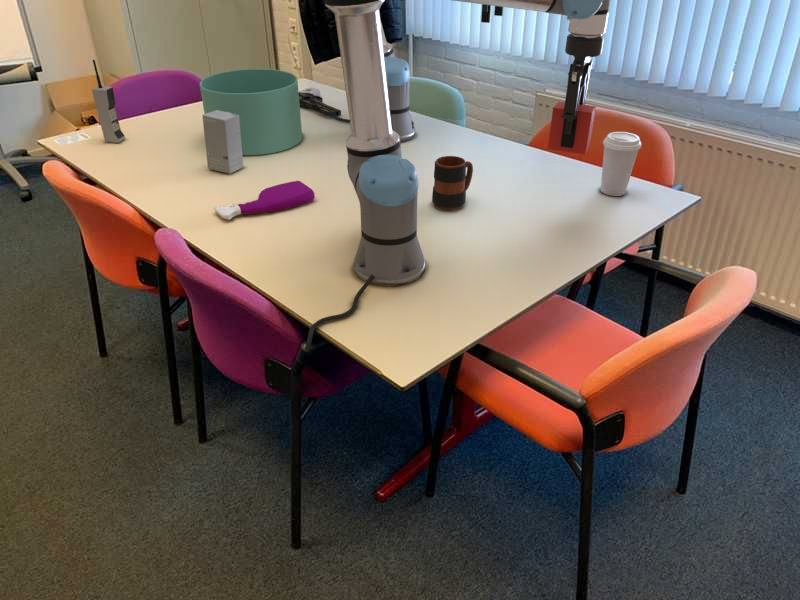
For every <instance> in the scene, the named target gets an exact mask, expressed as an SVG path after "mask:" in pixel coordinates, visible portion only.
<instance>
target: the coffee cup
mask: <svg viewBox="0 0 800 600" xmlns="http://www.w3.org/2000/svg"><path fill="white" fill-rule="evenodd" d="M602 145H603V158H602V169H601V178H600V192H601V193H602V194H604V195H606V196H611V197H620V196H624V195H625V194H626V192H627V189H628V186H629V183H630V179H631V175H632V172H633V169H634V165H635V163H636V159H637V157H638V152H639V150H641V148H642V141H641V140H640V136H639V135H637V134H635V133H631V132H627V131H611V132H609V133H608V134H607V135H606V137H605V138H604V139H603V141H602Z"/></svg>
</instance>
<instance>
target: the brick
mask: <svg viewBox="0 0 800 600" xmlns="http://www.w3.org/2000/svg"><path fill="white" fill-rule="evenodd" d="M564 106H565V101H564V102H563V101H557V102H556V104H554V106H553V107H552V111H551V112H552V113H551V120H550V127H549V134H548V135H549V136H548V142H547V143H548V145H547V150H551V151H558V152H564V153H569V154H570V153H571V154H576V155H577V154H578V155H584V156H585V155H586V154H587V152H588V150H589V149H590V147H591V141H592V134H593V128H594V123H595V122H594V121H595V117H596V111H597V106H595V105H590V104H589V105H587V104H585V105H580V104H579V107H578V112H577V125H576V131H575V138H574V144H573V148H568V147H561V146H560V145H561V138H562V131H563V124H564V118H561V115H563V113H564Z"/></svg>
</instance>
